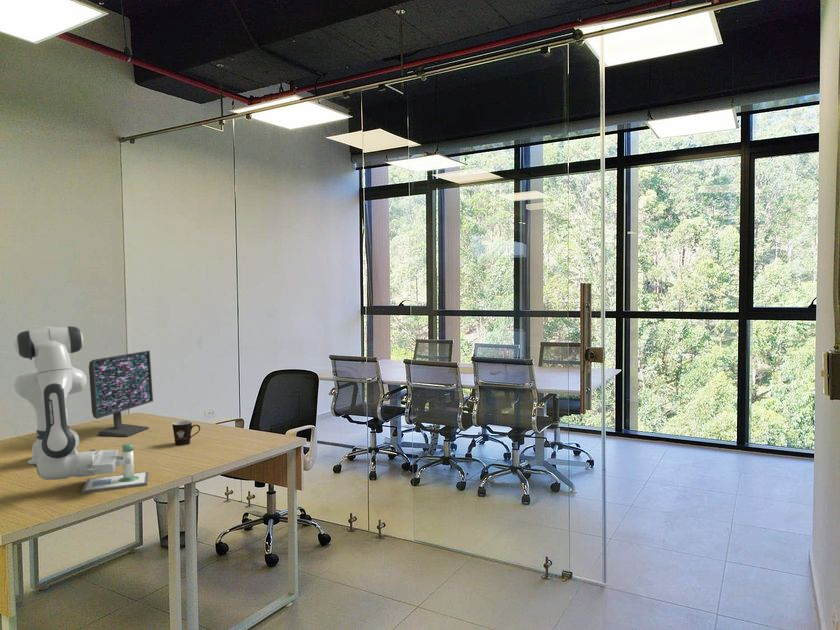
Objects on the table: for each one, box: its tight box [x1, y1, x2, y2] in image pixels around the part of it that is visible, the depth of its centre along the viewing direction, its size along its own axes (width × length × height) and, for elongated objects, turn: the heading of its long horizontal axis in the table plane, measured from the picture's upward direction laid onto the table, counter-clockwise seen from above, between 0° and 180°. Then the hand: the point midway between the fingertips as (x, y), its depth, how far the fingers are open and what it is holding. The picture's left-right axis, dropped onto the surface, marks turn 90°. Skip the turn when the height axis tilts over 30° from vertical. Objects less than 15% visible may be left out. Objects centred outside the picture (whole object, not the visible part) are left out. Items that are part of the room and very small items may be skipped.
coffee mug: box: [172, 420, 201, 447], centre depth 271 cm, size 12×9×10 cm
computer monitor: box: [88, 350, 154, 438], centre depth 294 cm, size 44×16×40 cm, turn 171°
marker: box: [121, 443, 135, 478], centre depth 217 cm, size 4×4×12 cm
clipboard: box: [81, 471, 149, 494], centre depth 216 cm, size 15×21×1 cm
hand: (130, 459), depth 218 cm, fingers closed on marker, 3 cm apart
